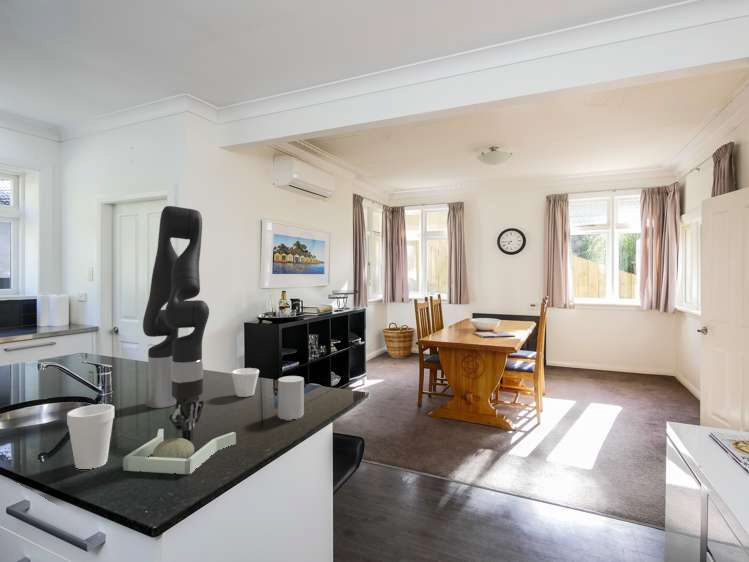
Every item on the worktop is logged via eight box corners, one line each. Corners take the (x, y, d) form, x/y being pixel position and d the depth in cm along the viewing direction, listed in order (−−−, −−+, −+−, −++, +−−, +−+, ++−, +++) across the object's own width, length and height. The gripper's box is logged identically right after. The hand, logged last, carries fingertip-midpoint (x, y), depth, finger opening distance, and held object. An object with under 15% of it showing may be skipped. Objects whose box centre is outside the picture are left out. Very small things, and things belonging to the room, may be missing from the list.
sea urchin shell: (183, 461, 97) (161, 436, 98) (161, 483, 98) (139, 458, 99) (204, 445, 106) (183, 422, 107) (184, 465, 107) (163, 442, 108)
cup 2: (308, 413, 137) (308, 377, 137) (295, 421, 130) (295, 383, 129) (286, 410, 140) (286, 375, 140) (273, 418, 132) (273, 380, 132)
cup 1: (260, 397, 154) (260, 372, 154) (232, 400, 151) (232, 375, 151) (257, 390, 164) (257, 367, 164) (230, 393, 160) (230, 369, 160)
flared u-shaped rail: (111, 469, 97) (111, 457, 97) (159, 439, 115) (159, 428, 115) (202, 475, 95) (202, 462, 95) (236, 443, 113) (236, 432, 113)
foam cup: (83, 456, 104) (83, 404, 104) (122, 454, 105) (121, 403, 105) (58, 474, 95) (57, 417, 95) (100, 472, 96) (100, 416, 95)
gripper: (187, 370, 115) (188, 432, 115) (158, 383, 102) (158, 453, 102) (213, 371, 114) (213, 433, 115) (187, 384, 101) (187, 454, 101)
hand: (187, 443), depth 108 cm, fingers closed
